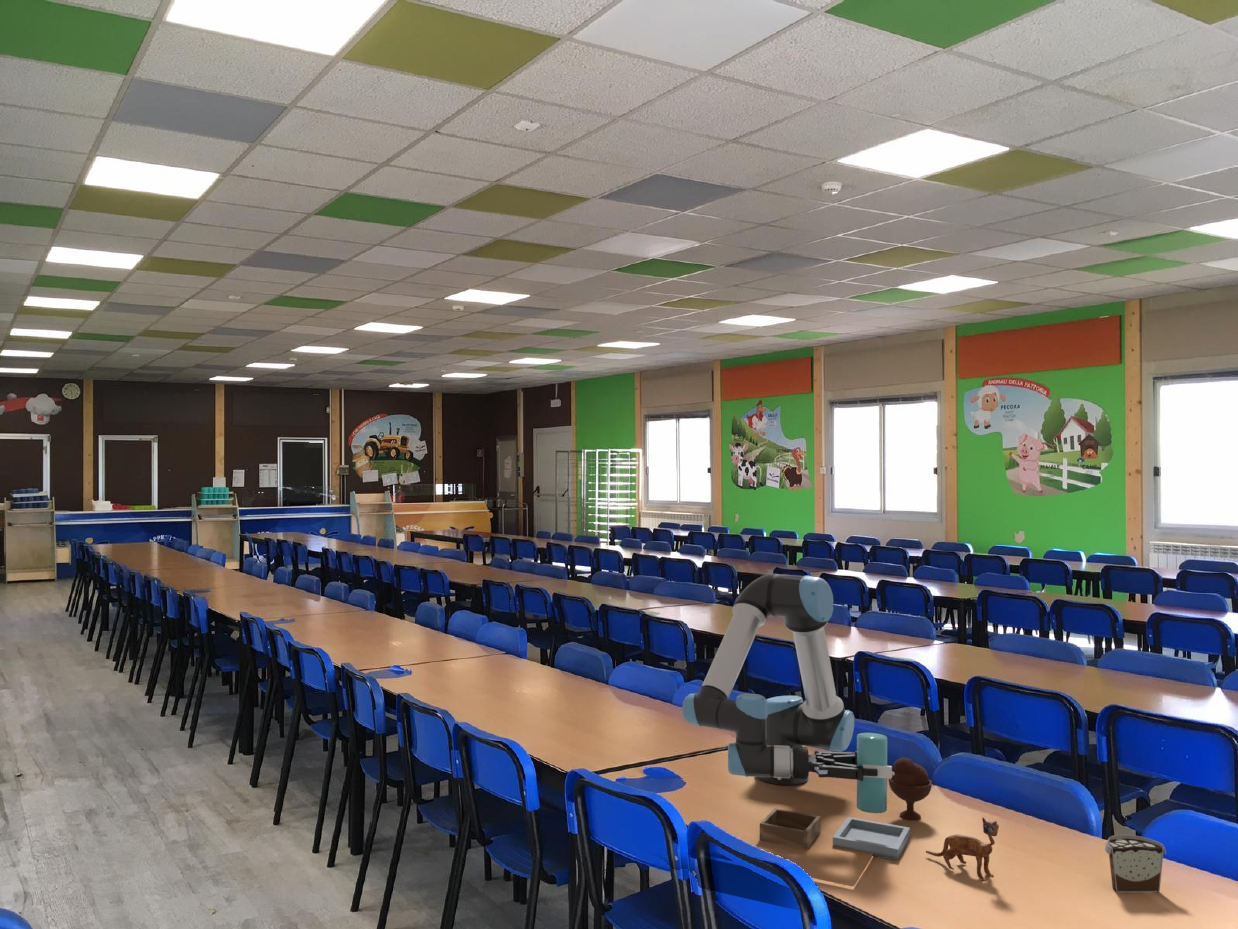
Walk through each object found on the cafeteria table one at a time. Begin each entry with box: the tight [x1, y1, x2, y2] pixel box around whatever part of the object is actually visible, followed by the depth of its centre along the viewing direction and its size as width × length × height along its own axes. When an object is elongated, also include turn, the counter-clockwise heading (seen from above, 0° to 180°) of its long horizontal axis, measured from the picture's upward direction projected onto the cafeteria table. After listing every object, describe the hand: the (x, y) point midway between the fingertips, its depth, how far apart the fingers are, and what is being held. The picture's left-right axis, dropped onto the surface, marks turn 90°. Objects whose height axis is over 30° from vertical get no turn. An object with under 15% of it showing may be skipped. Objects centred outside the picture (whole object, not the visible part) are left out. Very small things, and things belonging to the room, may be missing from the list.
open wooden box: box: [759, 808, 821, 850], centre depth 221 cm, size 12×12×4 cm
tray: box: [832, 816, 911, 861], centre depth 219 cm, size 15×15×2 cm
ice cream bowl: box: [888, 757, 933, 822], centre depth 236 cm, size 11×11×15 cm
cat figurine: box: [925, 817, 1000, 882], centre depth 204 cm, size 18×6×13 cm, turn 40°
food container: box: [1104, 834, 1167, 894], centre depth 196 cm, size 12×6×10 cm, turn 92°
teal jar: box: [856, 732, 888, 814], centre depth 219 cm, size 7×7×17 cm
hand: (888, 767), depth 218 cm, fingers closed on teal jar, 7 cm apart
